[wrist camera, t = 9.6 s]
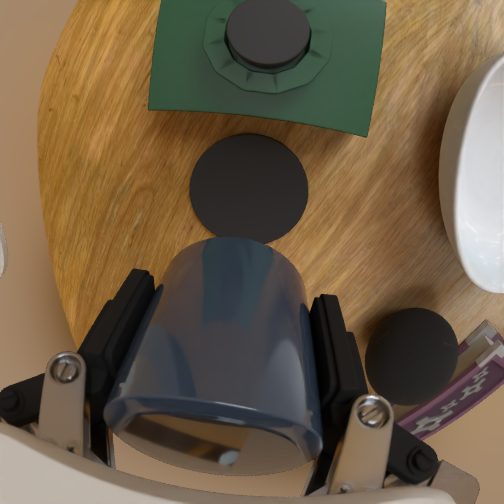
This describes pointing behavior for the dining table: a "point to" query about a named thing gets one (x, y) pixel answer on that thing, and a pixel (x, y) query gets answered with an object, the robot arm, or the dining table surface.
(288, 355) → the tumbler
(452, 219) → the serving bowl
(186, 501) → the robot arm
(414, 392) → the speaker
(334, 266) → the dining table surface
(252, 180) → the coaster
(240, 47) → the dark grey short cylinder
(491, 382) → the book
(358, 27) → the green base stand
